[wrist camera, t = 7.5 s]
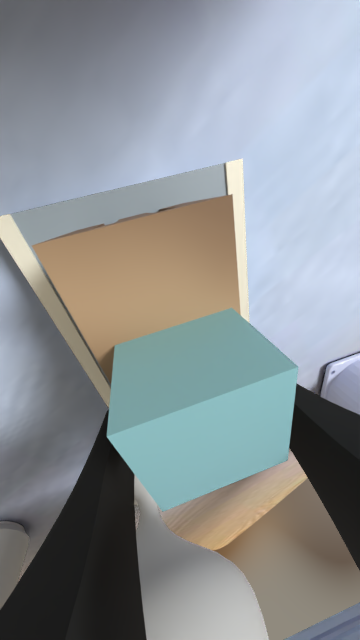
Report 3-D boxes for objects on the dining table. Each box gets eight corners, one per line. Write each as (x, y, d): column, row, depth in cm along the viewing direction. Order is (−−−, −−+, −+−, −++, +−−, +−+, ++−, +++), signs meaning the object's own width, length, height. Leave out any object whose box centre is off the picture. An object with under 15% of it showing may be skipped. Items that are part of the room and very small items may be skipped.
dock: (242, 378, 18) (252, 391, 17) (126, 419, 17) (126, 436, 16) (227, 165, 10) (242, 158, 9) (8, 218, 9) (-12, 218, 8)
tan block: (218, 395, 16) (250, 460, 12) (159, 416, 16) (172, 491, 12) (183, 203, 9) (232, 193, 5) (77, 229, 9) (31, 245, 5)
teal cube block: (239, 387, 9) (287, 460, 6) (151, 419, 8) (162, 511, 6) (231, 307, 7) (298, 366, 4) (114, 345, 6) (106, 436, 4)
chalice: (225, 460, 25) (330, 725, 12) (133, 514, 26) (139, 812, 13) (165, 406, 18) (265, 912, 5) (41, 483, 19) (-146, 1074, 6)
